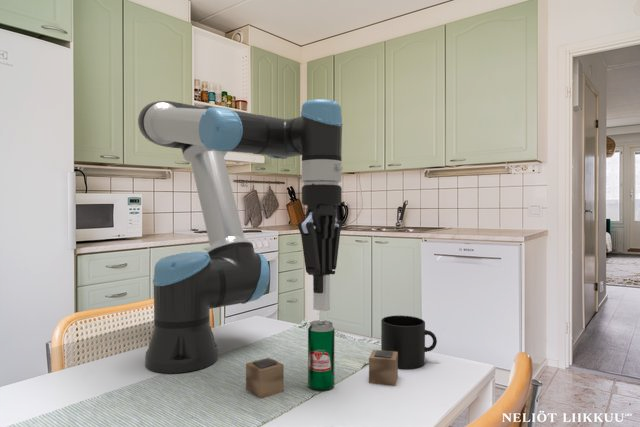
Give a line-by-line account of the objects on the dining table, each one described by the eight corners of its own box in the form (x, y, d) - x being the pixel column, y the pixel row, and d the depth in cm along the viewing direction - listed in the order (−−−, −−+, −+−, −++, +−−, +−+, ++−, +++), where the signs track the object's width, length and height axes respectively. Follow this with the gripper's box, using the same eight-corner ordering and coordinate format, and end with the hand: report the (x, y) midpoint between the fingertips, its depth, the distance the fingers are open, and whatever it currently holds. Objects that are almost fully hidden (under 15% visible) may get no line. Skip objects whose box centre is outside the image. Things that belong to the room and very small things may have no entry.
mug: (440, 371, 91) (440, 327, 91) (382, 368, 92) (382, 325, 92) (433, 355, 100) (433, 316, 100) (380, 353, 101) (380, 314, 101)
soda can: (304, 390, 81) (304, 325, 81) (311, 379, 86) (311, 318, 86) (331, 392, 80) (331, 327, 80) (336, 382, 85) (336, 320, 85)
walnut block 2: (369, 383, 84) (369, 356, 84) (372, 374, 89) (373, 348, 89) (395, 386, 83) (395, 359, 83) (397, 376, 88) (397, 350, 88)
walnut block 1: (246, 390, 81) (245, 362, 81) (268, 383, 84) (268, 356, 84) (260, 399, 77) (260, 370, 77) (283, 391, 81) (283, 363, 81)
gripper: (321, 182, 75) (321, 319, 75) (354, 185, 86) (354, 304, 86) (285, 183, 79) (285, 314, 79) (321, 186, 90) (321, 300, 90)
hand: (321, 309), depth 83 cm, fingers closed
